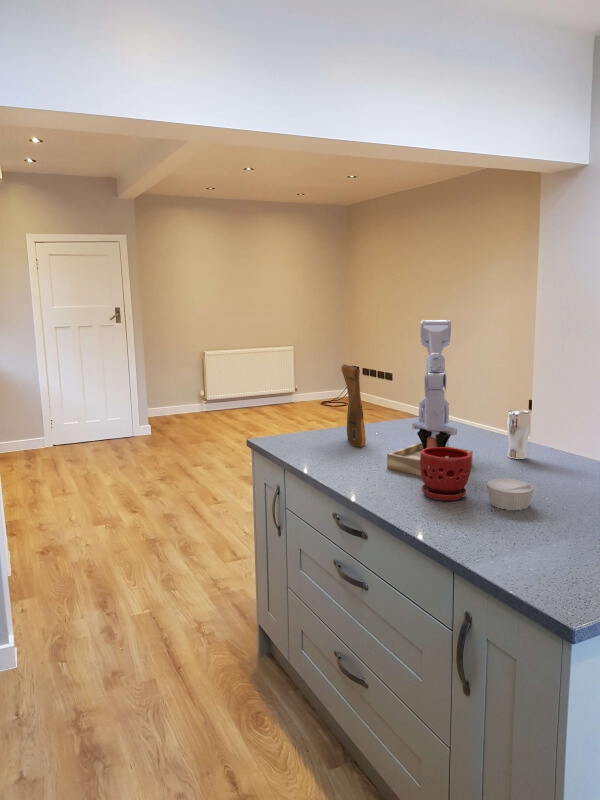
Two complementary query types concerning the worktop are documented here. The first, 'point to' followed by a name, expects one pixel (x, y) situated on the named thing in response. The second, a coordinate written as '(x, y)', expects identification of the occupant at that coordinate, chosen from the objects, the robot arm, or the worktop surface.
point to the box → (409, 459)
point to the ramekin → (509, 493)
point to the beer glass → (518, 433)
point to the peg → (431, 442)
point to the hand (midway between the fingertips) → (433, 454)
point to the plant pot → (445, 472)
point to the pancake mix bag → (354, 407)
